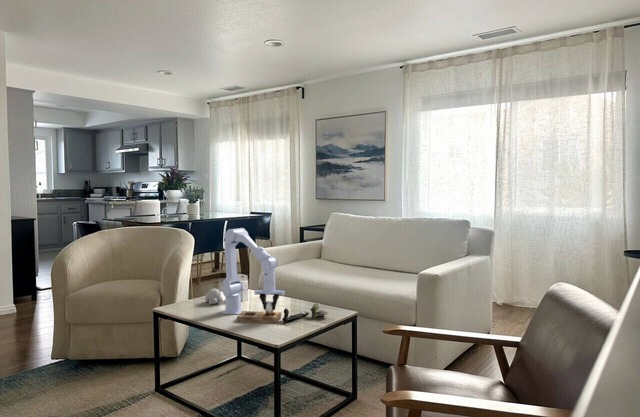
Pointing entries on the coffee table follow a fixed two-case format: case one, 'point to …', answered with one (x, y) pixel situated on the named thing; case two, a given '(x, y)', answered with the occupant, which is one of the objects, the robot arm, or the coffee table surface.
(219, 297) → the round bodied animal figurine
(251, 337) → the coffee table surface
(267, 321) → the wooden board with recesses
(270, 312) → the steel peg
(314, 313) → the artificial flower
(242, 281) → the ink cartridge box
